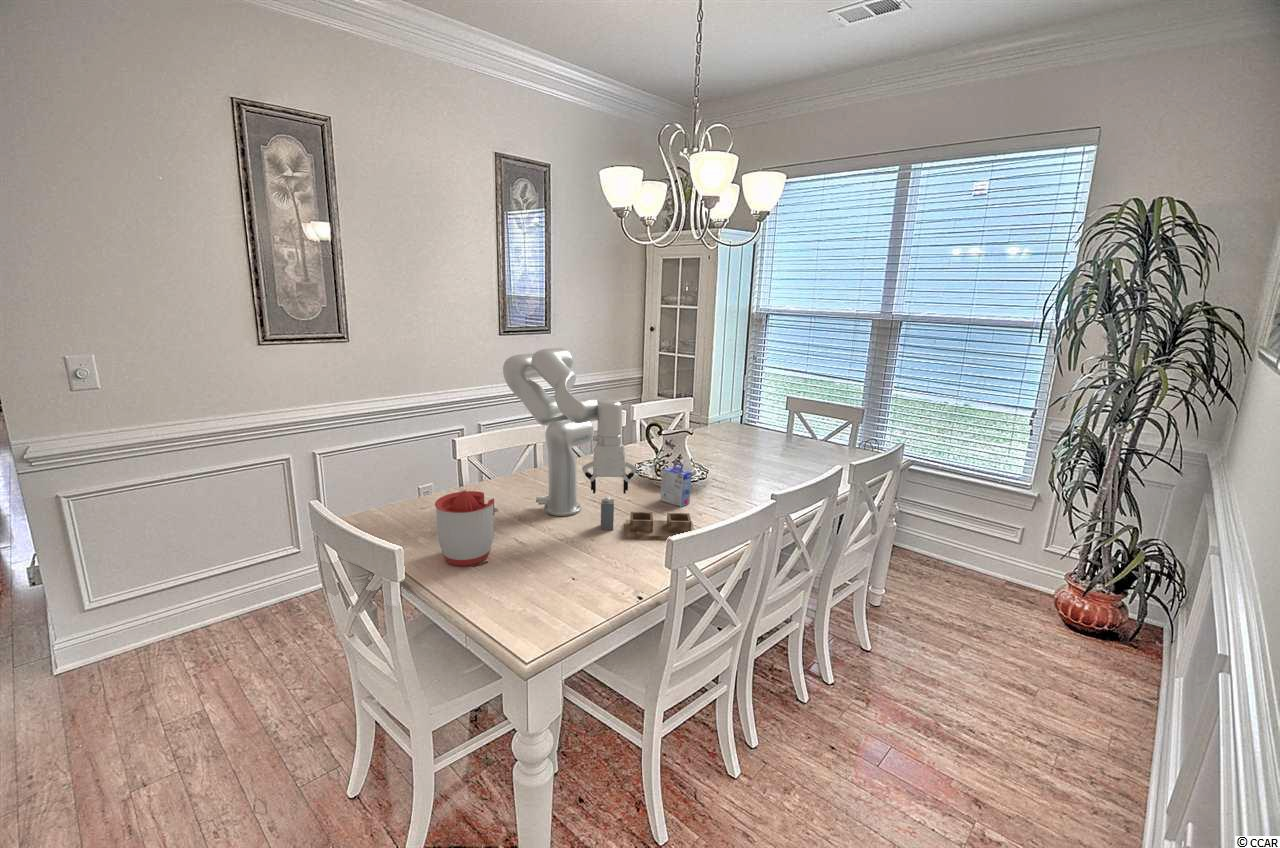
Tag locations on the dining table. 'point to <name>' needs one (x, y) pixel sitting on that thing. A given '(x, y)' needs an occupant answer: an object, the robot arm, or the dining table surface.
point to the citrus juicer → (465, 527)
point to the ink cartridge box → (676, 485)
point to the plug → (607, 513)
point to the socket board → (657, 525)
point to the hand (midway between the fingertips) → (609, 492)
